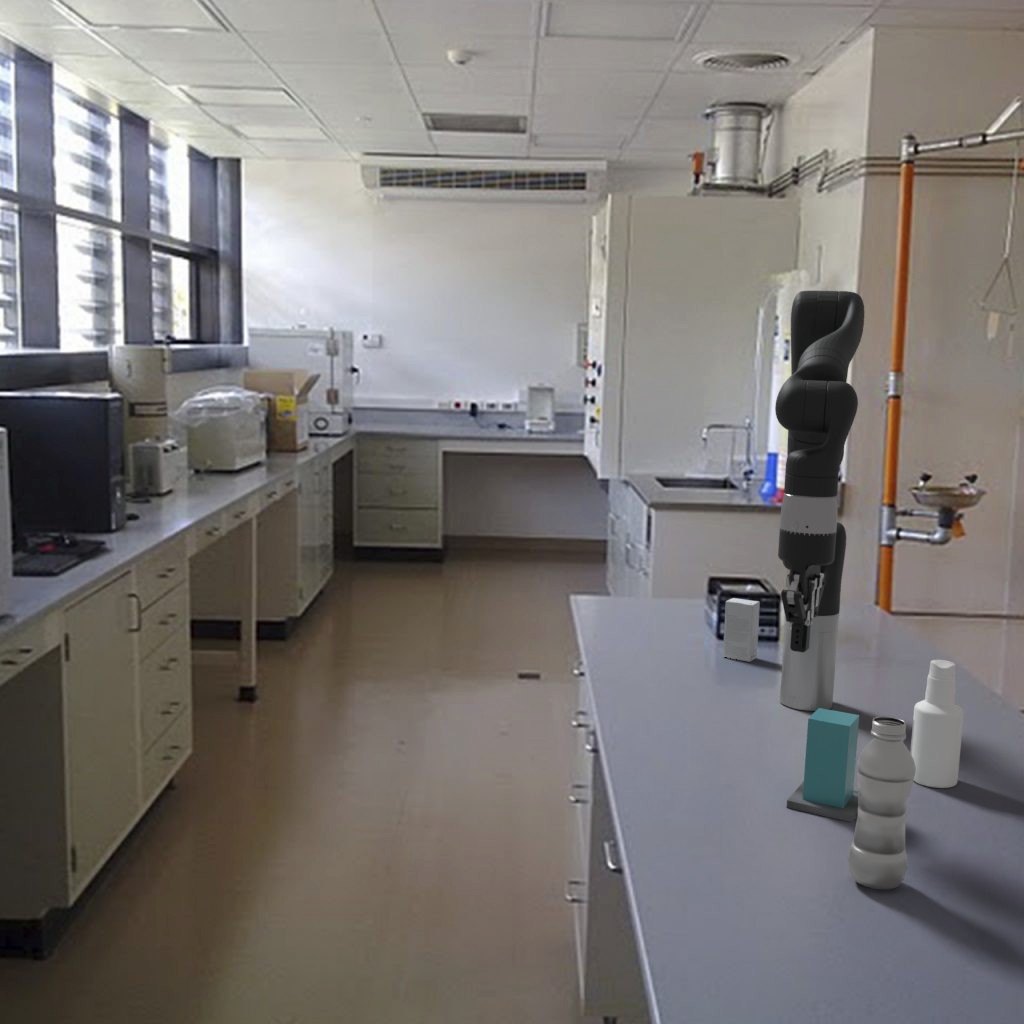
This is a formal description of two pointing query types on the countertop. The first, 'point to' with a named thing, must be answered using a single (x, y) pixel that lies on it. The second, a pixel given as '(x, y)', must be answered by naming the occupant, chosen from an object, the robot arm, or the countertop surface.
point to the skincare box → (741, 629)
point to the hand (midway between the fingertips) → (799, 650)
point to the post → (824, 806)
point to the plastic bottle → (882, 806)
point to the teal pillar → (830, 757)
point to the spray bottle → (937, 729)
